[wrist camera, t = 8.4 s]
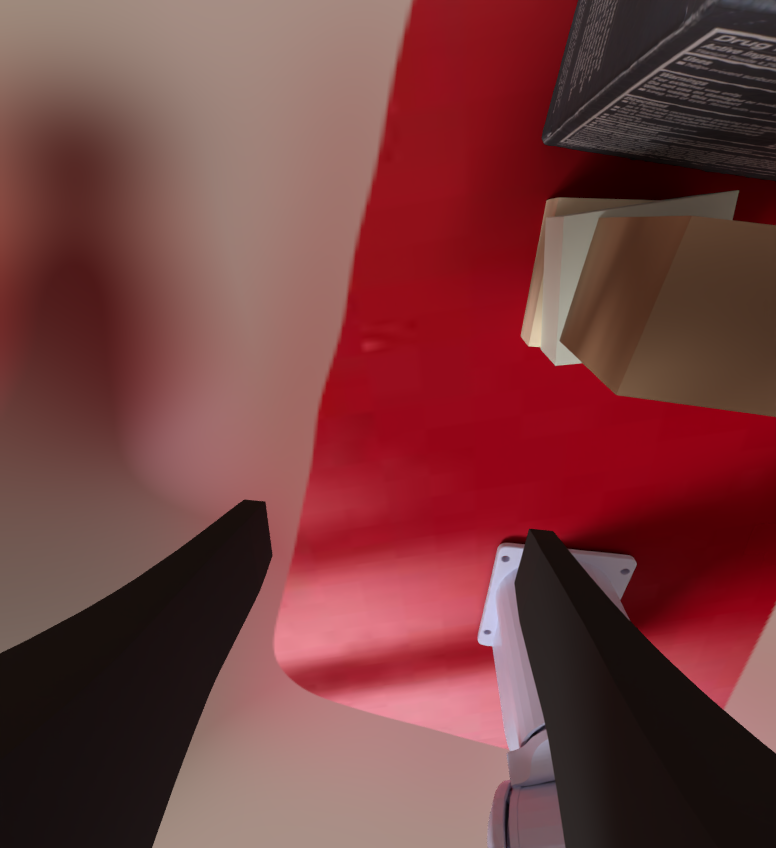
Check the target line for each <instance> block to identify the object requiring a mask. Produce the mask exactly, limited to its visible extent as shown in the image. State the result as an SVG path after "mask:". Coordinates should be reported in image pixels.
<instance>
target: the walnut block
mask: <svg viewBox="0 0 776 848" xmlns="http://www.w3.org/2000/svg"><path fill="white" fill-rule="evenodd" d="M559 341H560V342H561V343H562V344H563V345H564V346H565V347H566V348H567V349H568V350H569V351H570V352H572V353H573V354H574V355H575V356H576V357H577V358H578V359H579V360H580V361H581V362H582V363H583V364H584V365H585V366H586V367H587V368H588V369H589V370H591V371H592V372H593V373H594V374H595V375H596V376H597V377H598V378H599V379H600V380H601V381H602V382H603V383H604V384H605V385H606V386H607V387H608V388H610V389H611V390H612V391H613V392H614V393H615V394H616V395H621V396H628V397H635V398H643V399H650V400H657V401H664V402H672V403H679V404H686V405H694V406H701V407H708V408H716V409H723V410H730V411H737V412H745V413H752V414H759V415H767V416H774V417H776V225H768V224H759V223H751V222H742V221H734V220H725V219H717V218H708V217H700V216H651V217H604V218H599V219H598V222H597V225H596V228H595V231H594V234H593V238H592V241H591V244H590V247H589V250H588V253H587V256H586V259H585V262H584V265H583V269H582V272H581V275H580V278H579V281H578V284H577V287H576V290H575V293H574V296H573V300H572V303H571V306H570V309H569V312H568V315H567V318H566V321H565V324H564V328H563V331H562V334H561V337H560V340H559Z"/></svg>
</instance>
